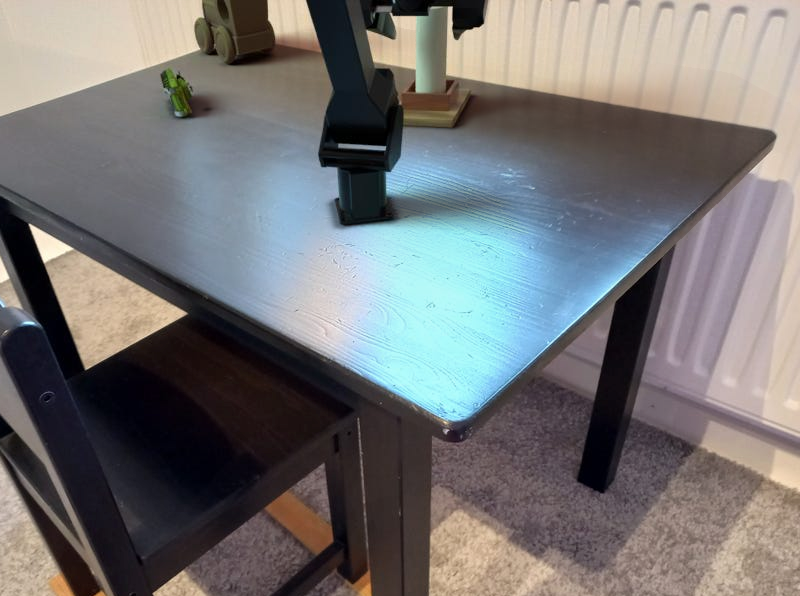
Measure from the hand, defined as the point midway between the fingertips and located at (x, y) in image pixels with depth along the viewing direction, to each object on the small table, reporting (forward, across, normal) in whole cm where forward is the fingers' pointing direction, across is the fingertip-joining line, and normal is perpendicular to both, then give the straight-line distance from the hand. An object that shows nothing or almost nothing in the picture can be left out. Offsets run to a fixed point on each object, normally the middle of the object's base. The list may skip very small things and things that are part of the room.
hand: (425, 36), depth 101 cm
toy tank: (+11, +44, +6) cm, 45 cm away
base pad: (+11, 0, +6) cm, 12 cm away
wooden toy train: (+30, +47, -14) cm, 58 cm away
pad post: (+10, 0, +5) cm, 11 cm away
